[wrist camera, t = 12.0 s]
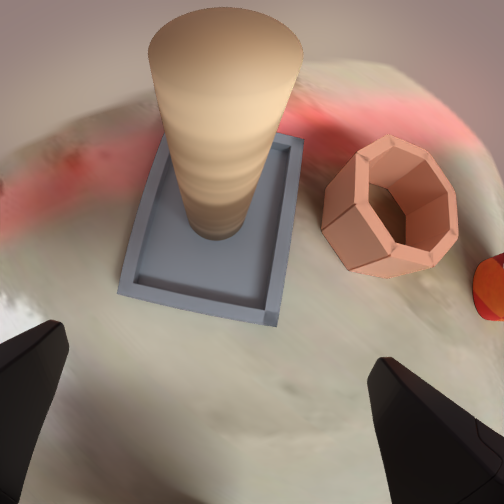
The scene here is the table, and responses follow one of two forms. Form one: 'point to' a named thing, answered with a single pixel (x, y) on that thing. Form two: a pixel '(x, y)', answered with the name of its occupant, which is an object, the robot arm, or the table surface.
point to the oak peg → (222, 107)
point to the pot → (408, 198)
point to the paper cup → (490, 288)
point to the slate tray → (215, 244)
